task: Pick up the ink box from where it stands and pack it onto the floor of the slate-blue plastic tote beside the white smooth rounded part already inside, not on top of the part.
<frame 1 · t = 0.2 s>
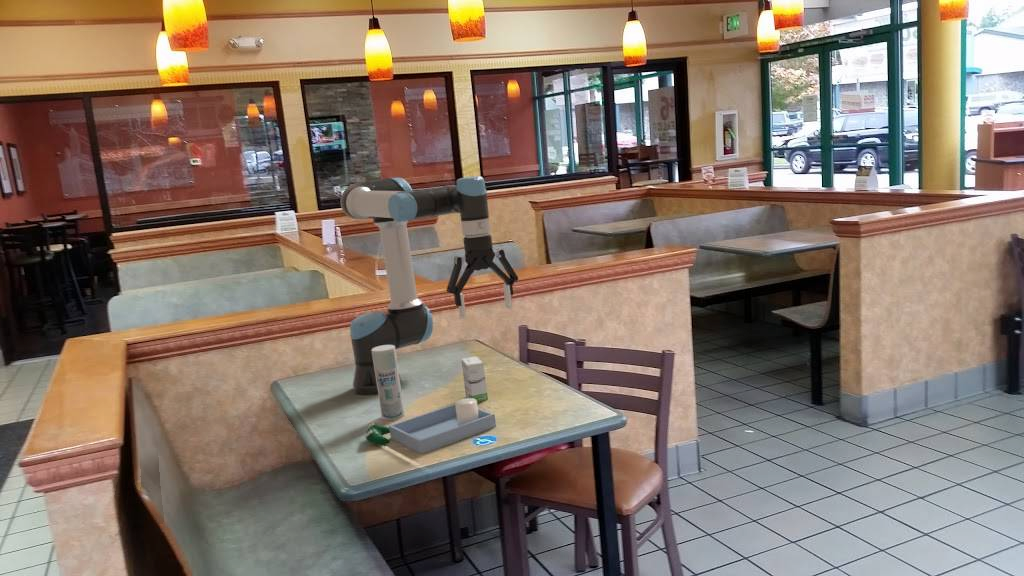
hand: (486, 312, 207), 27 cm above the table, fingers open, 13 cm apart
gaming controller: (379, 442, 196), on the table
spray can: (393, 417, 213), on the table
white smooth rounded part: (469, 427, 196), point 1 cm above the table, touching tote
ink box: (477, 400, 220), on the table
tote: (443, 434, 195), on the table
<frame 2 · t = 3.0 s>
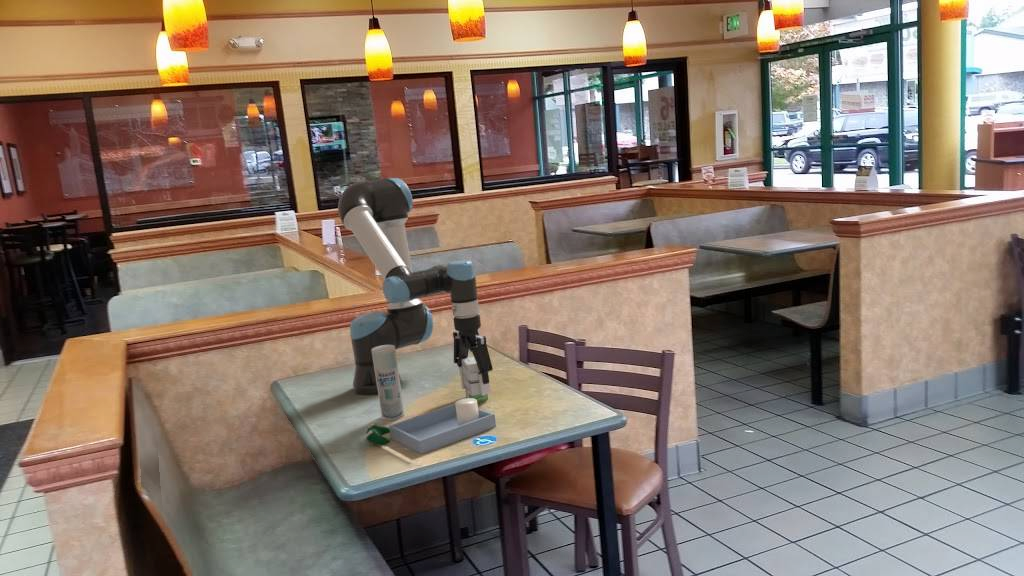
hand: (475, 390, 219), 3 cm above the table, fingers closed on ink box, 9 cm apart
ink box: (477, 400, 220), on the table, touching gripper
everything else where it was.
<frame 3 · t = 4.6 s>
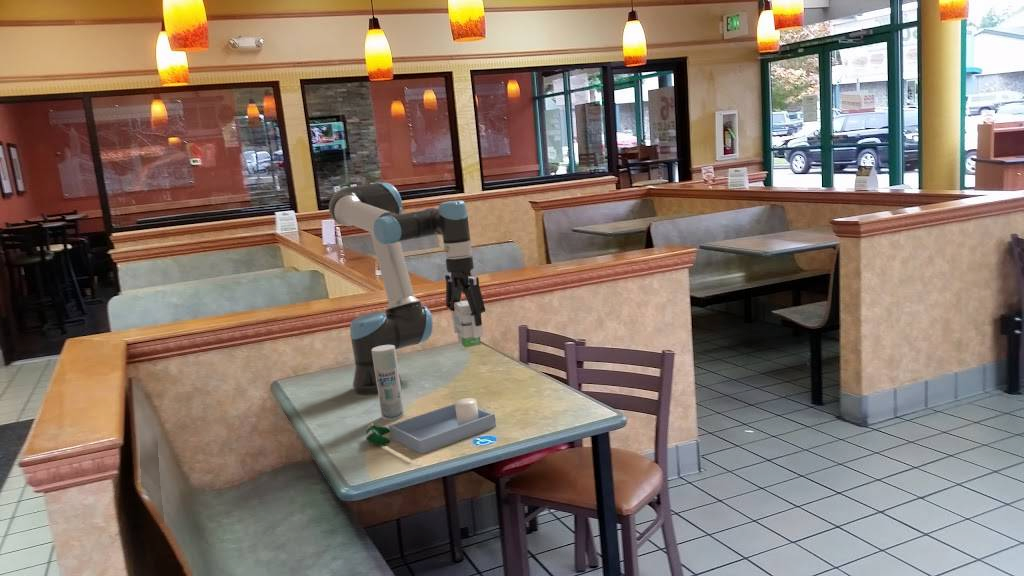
hand: (468, 334, 216), 19 cm above the table, fingers closed on ink box, 9 cm apart
ink box: (469, 344, 216), point 17 cm above the table, touching gripper
everything else where it was.
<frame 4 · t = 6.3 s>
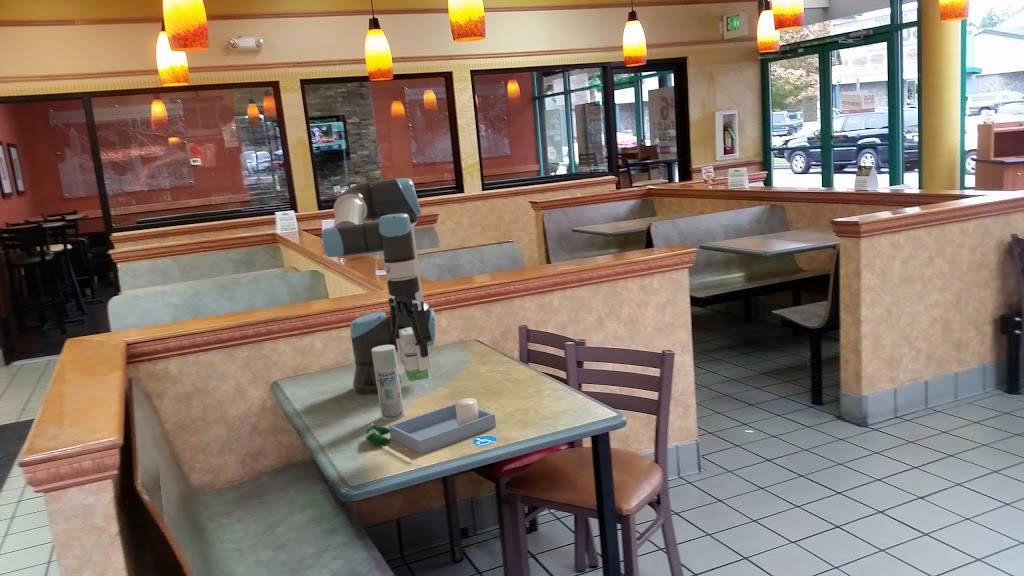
hand: (414, 365, 189), 20 cm above the table, fingers closed on ink box, 9 cm apart
ink box: (416, 376, 190), point 17 cm above the table, touching gripper
everything else where it was.
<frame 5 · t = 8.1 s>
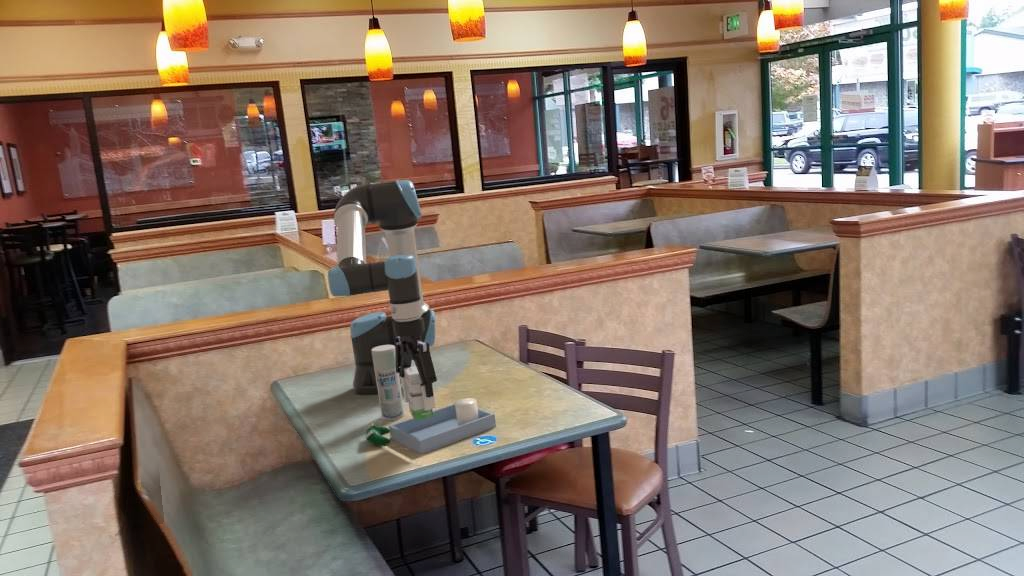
hand: (419, 404, 191), 9 cm above the table, fingers closed on ink box, 9 cm apart
ink box: (421, 415, 191), point 7 cm above the table, touching gripper
everything else where it was.
when the fingers open (4 cm above the table, at t = 9.6 s): ink box drops 1 cm, resting on tote.
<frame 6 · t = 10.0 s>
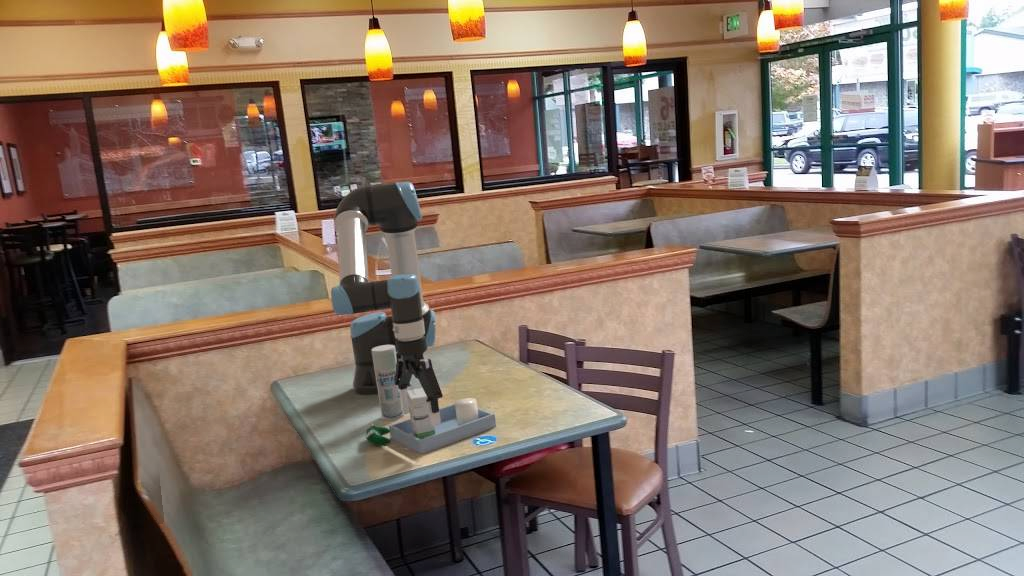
hand: (421, 418, 192), 6 cm above the table, fingers open, 13 cm apart
ink box: (424, 437, 193), resting on tote
everything else where it was.
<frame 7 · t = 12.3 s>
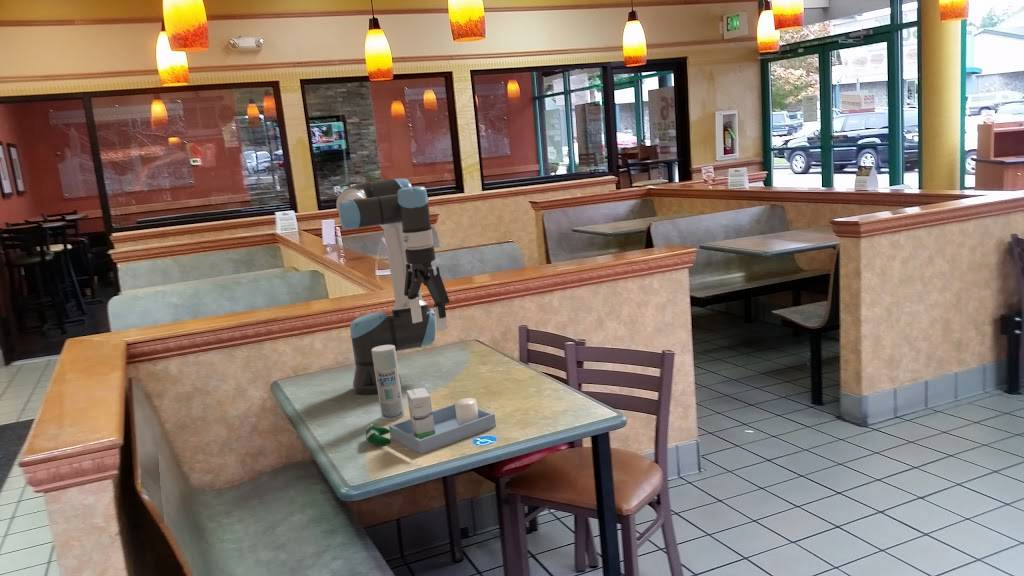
hand: (429, 325, 201), 26 cm above the table, fingers open, 13 cm apart
nothing on the table moved.
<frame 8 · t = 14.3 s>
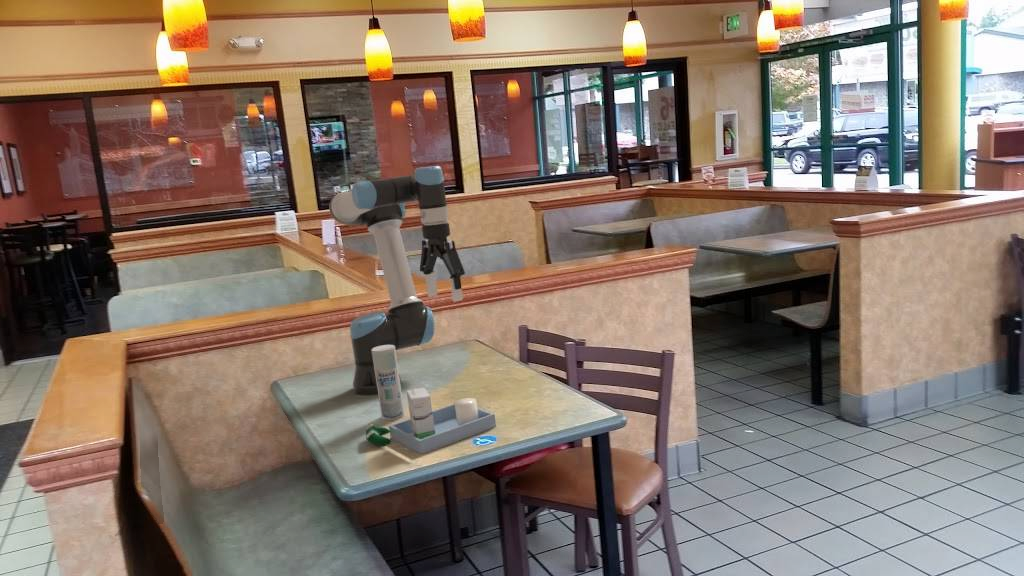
hand: (445, 298, 213), 31 cm above the table, fingers open, 13 cm apart
nothing on the table moved.
at the end: ink box inside the target area on the tote (0.2 cm from its centre), point 0.5 cm above the tote's base; ink box tilted 0°; white smooth rounded part moved 0.0 cm from its start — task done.
